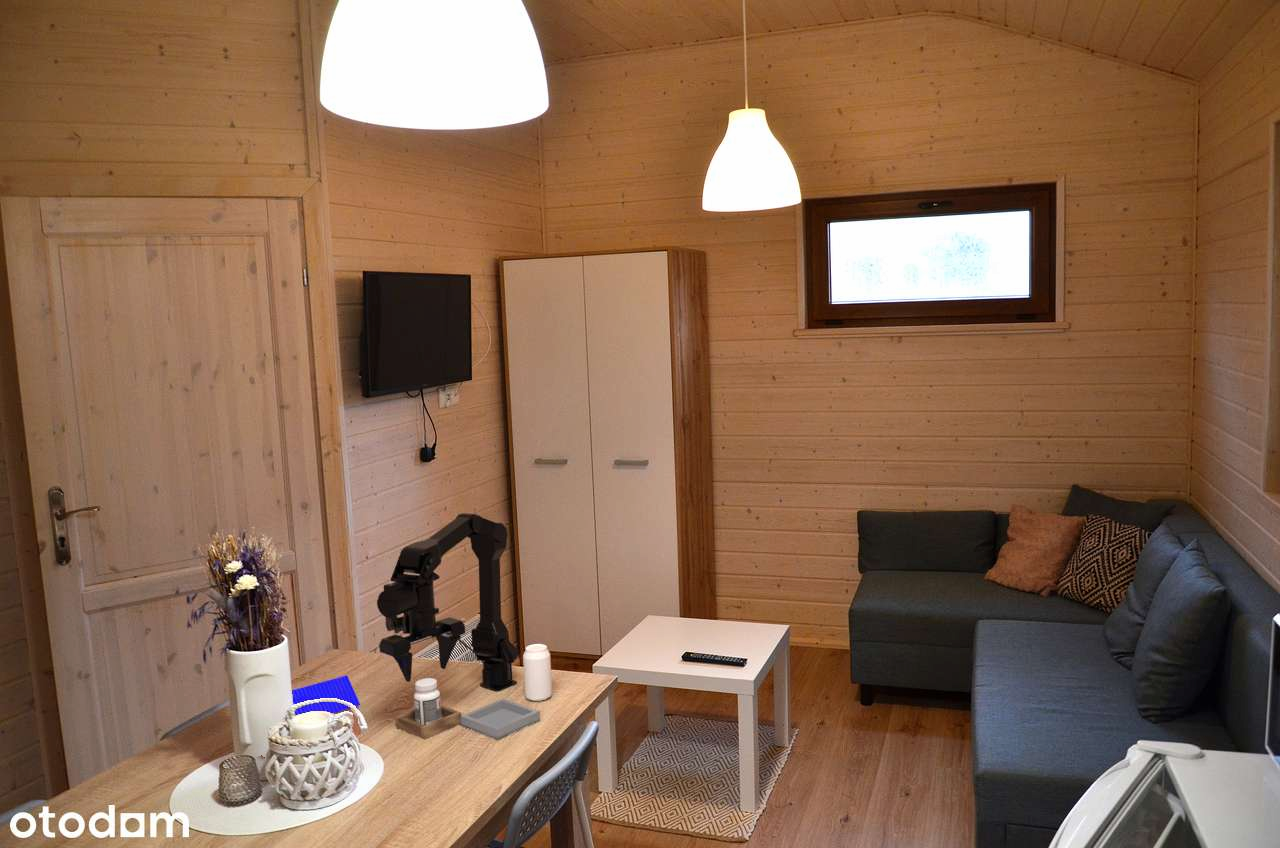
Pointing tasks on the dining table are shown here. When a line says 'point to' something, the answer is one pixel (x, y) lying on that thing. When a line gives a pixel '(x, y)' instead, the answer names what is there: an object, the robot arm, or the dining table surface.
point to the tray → (500, 718)
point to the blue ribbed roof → (328, 689)
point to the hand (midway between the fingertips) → (425, 674)
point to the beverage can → (537, 672)
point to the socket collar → (426, 731)
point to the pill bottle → (427, 701)
